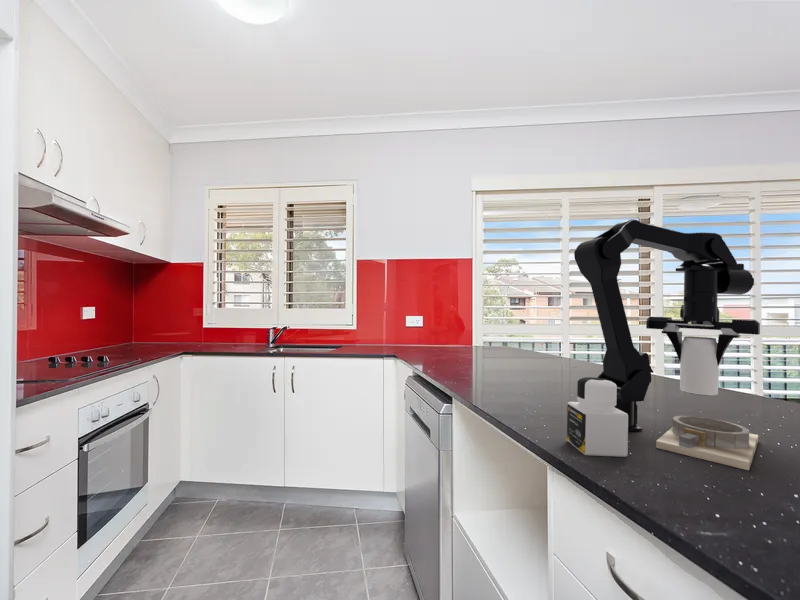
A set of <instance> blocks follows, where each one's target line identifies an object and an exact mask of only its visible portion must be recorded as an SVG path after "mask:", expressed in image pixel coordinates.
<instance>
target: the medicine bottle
mask: <svg viewBox="0 0 800 600" xmlns="http://www.w3.org/2000/svg"><path fill="white" fill-rule="evenodd" d="M617 388H618V387H617V385H616V384H615V383H614V382H612V381H610V380H607V379H602V378H597V377H591V376H590V377H589V376H586V377H581V378H579V379H578V380H577V389H576V391H577V392H576V394H577V395H576V397H577V398H576V401H568V402H567V408H566V409H567V413H566V414H567V416H566V417H567V419H566V441H567V442H568V443H569V444H571V445H572V446H573V447H574V448H575V449H577V450H578V451H579V452H581V454H582V455H584V456H591V457H592V456H593V457H594V456H595V457H596V456H597V457H617V458H627V457H628V450H629V449H628V448H629V443H628V442H629V431H628V414H627V413H625V412H623V411H621V410H619V409H617V408H615V407H614V406H616V401H617Z"/></svg>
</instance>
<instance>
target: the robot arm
mask: <svg viewBox="0 0 800 600" xmlns="http://www.w3.org/2000/svg"><path fill="white" fill-rule="evenodd" d="M632 244H633V245H638V246H643V247H647V248H650V249H654V250H659V251H665V252H668V253H670V254H672V256H673V257H674V258H675V259H677V260H680V261H682V263H681V264H680V265H678V266H677V267H676V268H675V272H677V273H678V272H679V273H680V272H681V273H684V274H683V276H684V277H683V304H681V307H680V311H679V316H680V319H681V320H679V319H677V320H676V319H673V318H672V317H669V316H668V317H667V316H666V317H665V316H649V317H648V318H647V319H646V329H647V330H661V334H666V336H667V337H668V339H669V341H670V342H671V344H672V346H673V348H674V351H675V353H676V356H677V359H678V361H679V362H680V361H681V343H682V341H683V331H680V329H691V330H692V329H693V330H710V331H715V330H716V331H720V332H721V333H719V334H718V337H717V338H718V339H717V343H718V344H717V351H716V359H717V364H718V366H719V367H720V364H721V362H722V359H723V358H724V354H725V353H726V351H727V349H728V347H729V345H730V344H731V342H732V341H733V339H739V338H741V335H757V336H758V335H760V334H761V323H760V322H759V321H758V320H756V319H755V320H752V319H750V320H749V319H732V320H731V322H729V321H720V309H719V307H718V295H737V296H738V295H745V294H747V293H749V292H750V291H751V290H752V288H753V286H755V285H754V283H755V279H754V277H753V274H752V273H751V272H750V271H749V270H748V269H745V264H744V263H738V262H737V260H736V259H735V256H734V255H733V254H732V252H731V250H730V249H729V247H728V245H727V244H726V242H725V240H724V239H723V236H722V235H720V234H719V233H716V232H681V231H679V230H678V231H677V230H674V229H670V228H669V229H668V228H667V227H666V228H665V227H662V226H658V225H657V226H656V225H653V224H650V223H645V222H640V221H639V220H637V219H628V220H624V221H620V222H617V223H616V224H614V225H613V226H611V228H609V229H607V230H606V231H604V232H603V233H601V234H599V235H598V236H596V237H594V238H592V239H590V240H586V241H583V242H580V244H578V245H577V247H576V249H575V250H574V254H573V256H574V261H575V263H576V266H577V268H578V270H579V272H580V274H581V275H582V276H583V277H584V278H585V280H587V282H589V284H590V286H591V291H592V295H593V300H594V303H595V306H596V311H597V316H598V320H599V324H600V328H601V331H602V332H601V333H602V335H603V339H604V343H605V346H606V347H605V352H604V356H603V359H602V369H603V371H602V372H601V373H600V374H598V376H597V377H596V378H602V379H607V380H610V381H612V382H614V383H615V384H616V385H617V401H616V406H614V407H615V408H617V409H619V410H621V411H623V412H625V413H627V414H628V432H632V431H634V432H635V431H643V427H642V426H639V425H638V404H637V402H644V401H645V398H646V395H647V392H648V389H649V386H650V384H651V383H652V380H653V379H652V373H654V369H652V366H651V363H650V362H651V361H650V356H649V354H648V353H647V352H643V351H639V350H638V349H637V348H636V347H635V345H634V343H633V339H632V335H631V331H630V327H629V323H628V317H627V314H626V310H625V307H624V303H623V298H622V294H621V290H620V286H619V283H618V281H619V280H618V275H619V273H620V269H621V266H622V255H621V253H623V252H624V251H626V250H627V249H629V248H630V246H631V245H632Z"/></svg>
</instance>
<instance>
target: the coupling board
mask: <svg viewBox="0 0 800 600" xmlns="http://www.w3.org/2000/svg"><path fill="white" fill-rule="evenodd" d="M671 423H672V426H671V427H670V429H668V430H667V431H666V432H665V433H664V434H662V435H661V436H660V437H659V438H658V439H657V440H656V442H655V444H656V445H655V446H656V447H655V448H656V449H660V450H664V451H667V452H672V453H677V454H680V455H684V456H685V455H686V456H689V457H692V458H697V459H700V460H705V461H709V462H712V463H718V464H719V465H720V464H721V465H725V466H729V467H733V468H738V469H741V470H745V471H750V469H751V465H752V462H753V459H754V456H755V453H756V449H757V447H758V443H759V434H754V433H750V429H748V428H747V427H745V426H743V425H740V424H737V423H733V422H730V421H727V420H722V419H716V418H711V417H706V416H700V415H698V416H695V415H675V416H673V418H672V421H671Z"/></svg>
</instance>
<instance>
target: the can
mask: <svg viewBox="0 0 800 600" xmlns="http://www.w3.org/2000/svg"><path fill="white" fill-rule="evenodd" d="M717 344H718V341H717V338H715V337H707V336H686V335H684V336H683V338H682V343H681V361H679V363H680V364H679V365H680V366H679V367H680V369H679V373H680V374H679V376H680V377H679V390H681V392H682V393H685V394H688V395H689V394H690V395H695V396H702V397H703V396H704V397H716V396H717V395H718V394H719V378H720V377H719V375H720V374H719V372H720V371H719V370H720V369H719V367H720V365H719V366H718V364H717V359H716V351H717Z"/></svg>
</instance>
